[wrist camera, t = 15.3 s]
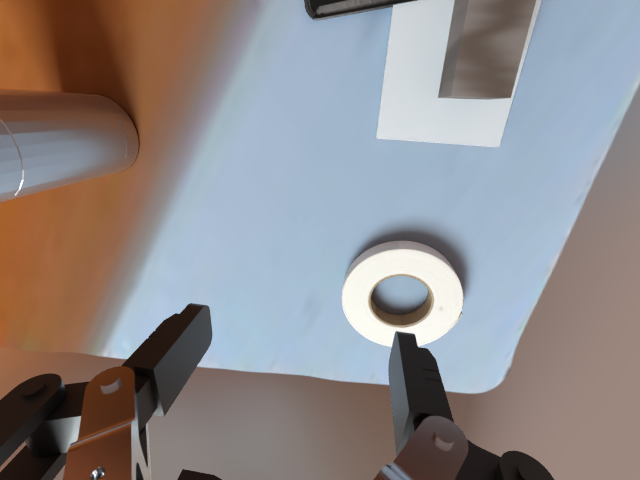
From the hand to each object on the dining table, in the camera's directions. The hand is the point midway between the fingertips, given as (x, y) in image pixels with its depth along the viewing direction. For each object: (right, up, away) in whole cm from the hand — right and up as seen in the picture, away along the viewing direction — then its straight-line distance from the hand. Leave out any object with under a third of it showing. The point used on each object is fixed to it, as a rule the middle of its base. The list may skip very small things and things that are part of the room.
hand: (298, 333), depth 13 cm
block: (+15, +17, +16) cm, 28 cm away
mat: (+14, +23, +17) cm, 32 cm away
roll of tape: (+12, -3, +29) cm, 31 cm away
